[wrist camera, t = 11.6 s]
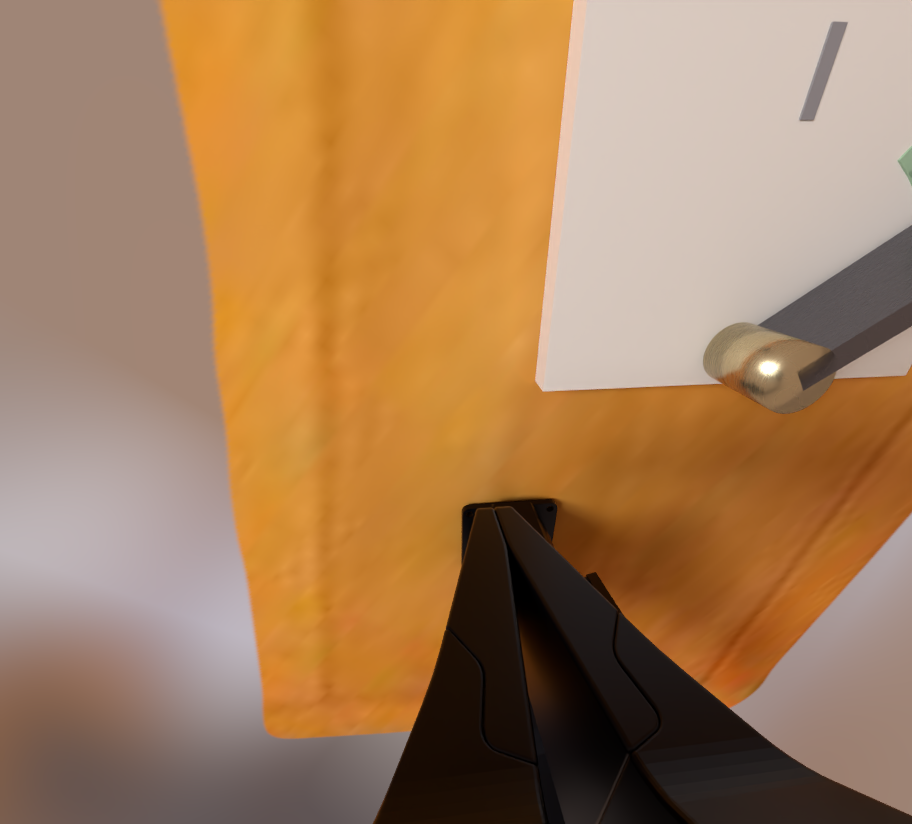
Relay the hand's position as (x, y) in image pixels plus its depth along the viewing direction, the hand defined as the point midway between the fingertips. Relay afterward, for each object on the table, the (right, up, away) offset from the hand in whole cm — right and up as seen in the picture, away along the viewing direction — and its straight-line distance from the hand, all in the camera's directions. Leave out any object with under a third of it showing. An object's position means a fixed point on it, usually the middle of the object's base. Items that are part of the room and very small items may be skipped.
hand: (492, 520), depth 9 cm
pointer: (+19, +10, +10) cm, 23 cm away
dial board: (+15, +14, +9) cm, 22 cm away
